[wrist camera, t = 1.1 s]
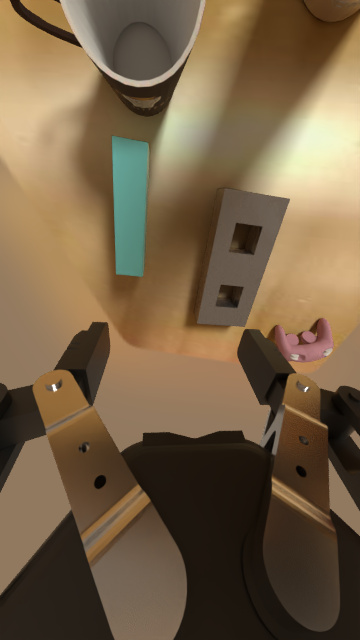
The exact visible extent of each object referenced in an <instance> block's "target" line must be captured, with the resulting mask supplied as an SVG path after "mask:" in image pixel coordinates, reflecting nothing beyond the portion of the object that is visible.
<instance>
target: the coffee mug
mask: <svg viewBox="0 0 360 640" xmlns="http://www.w3.org/2000/svg"><path fill="white" fill-rule="evenodd" d="M54 1H57V2H59V3H61V5H62V8H63V11H64V14H65V16H66V18H67V20H68V22H69V24H70V27H71V29H72V31H73V33H74V34H72V33H70V32H67V31H65V30H63V29H60V28H58V27H56V26H54V25H51V24H49V23H47V22H46V21H44V20H43V19H41V18H40V17H38V16H37V15H35V14H34V13H32V12H31V11H29V10H28V9H27V8H25V7H24V5H23V4H22V3H21V2H20V0H10V2H11V4H12V6H13V8H14V10H15V11H16V12H17V13H18V14H19V15H20V16H21V17H22V18H23V19H25V20H26V21H28V22H29V23H31V24H32V25H34V26H36V27H37V28H39V29H41V30H43V31H45V32H47V33H49V34H51V35H53V36H55V37H57V38H59V39H62V40H64V41H67V42H69V43H71V44H74V45H76V46H79V47H81V48H83V49H84V50H85V52H86V53H87V55H88V56H89V57H90V59H91V60H92V61H93V63H94V64H95V65H96V67H97V68H98V69H99V71H100V72H101V73H102V75H103V76H104V77H105V79H106V80H107V81H108V83H109V84H110V85H111V87H112V88H113V89H114V91H115V92H116V94H117V95H118V96H119V98H120V99H121V100H122V102H123V103H124V104H125V105H126V106H127V107H128V108H129V109H130V110H131V111H133V112H134V113H136V114H139V115H142V116H153V115H155V114H158V113H159V112H161V111H162V110H163V109H164V108H165V107H166V106H167V104H168V102H169V101H170V99H171V97H172V94H173V92H174V90H175V87H176V85H177V83H178V80H179V78H180V76H181V73H182V71H183V69H184V66H185V64H186V62H187V59H188V57H189V55H190V52H191V50H192V48H193V45H194V43H195V40H196V37H197V35H198V32H199V30H200V26H201V21H202V17H203V13H204V9H205V0H54Z"/></svg>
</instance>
